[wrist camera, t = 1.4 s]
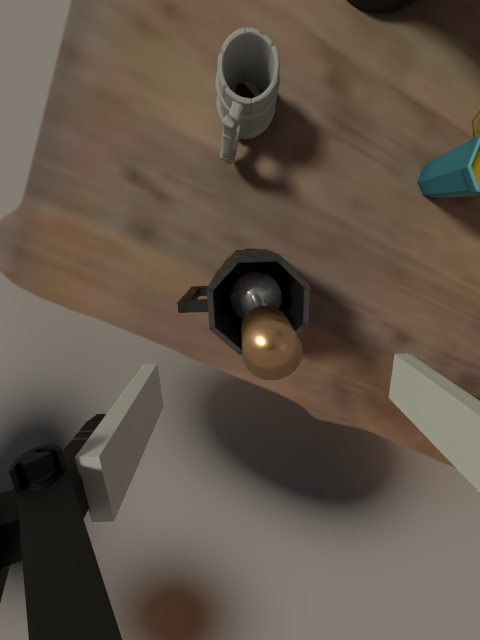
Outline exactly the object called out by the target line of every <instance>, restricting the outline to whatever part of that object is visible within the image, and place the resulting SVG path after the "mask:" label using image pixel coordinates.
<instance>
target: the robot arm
mask: <svg viewBox="0 0 480 640" xmlns="http://www.w3.org/2000/svg"><path fill="white" fill-rule="evenodd" d="M349 1H350V2H351V3H352V4H354V5H355V6H357V7H358V8H360V9H363V10H365V11H368V12H373V13H387V12H392V11H396V10H398V9H401V8H403V7H405V6H407V5H409V4H410V3H412V2H413V1H415V0H349ZM389 399H390V400H391V401H392V402H393V403H394V404H395V405H396V406H397V407H398V408H399V409H400V410H401V411H402V412H403V413H404V414H405V415H406V416H407V417H408V418H409V419H410V420H411V421H412V422H413V424H414V425H415V426H416V427H417V428H418V429H419V430H420V431H421V432H422V433H423V434H424V435H425V436H426V437H427V438H428V439H429V440H430V441H431V442H432V443H433V444H434V445H435V446H436V447H437V449H438V450H439V451H440V452H441V453H442V454H443V455H444V456H445V457H446V458H447V459H448V460H449V461H450V462H451V463H452V464H453V465H454V466H455V467H456V468H457V469H458V470H459V471H460V472H461V473H462V475H463V476H464V477H465V478H466V479H467V480H468V481H469V482H470V483H471V484H472V485H473V486H474V487H475V488H476V489H477V490H478V491H479V492H480V399H477V398H475V397H473V396H472V395H470V394H469V393H467V392H466V391H464V390H463V389H461V388H460V387H458V386H457V385H455V384H454V383H452V382H451V381H449V380H448V379H446V378H445V377H443V376H442V375H440V374H439V373H437V372H436V371H434V370H433V369H431V368H430V367H428V366H427V365H425V364H424V363H422V362H421V361H419V360H418V359H416V358H415V357H413V356H412V355H410V354H395V356H394V363H393V370H392V377H391V384H390V391H389ZM162 408H163V401H162V394H161V386H160V379H159V372H158V365H157V363H155V364H143V365H142V367H141V368H140V369H139V371H138V372H137V374H136V375H135V376H134V377H133V379H132V381H131V382H130V383H129V384H128V386H127V387H126V388H125V390H124V391H123V392H122V394H121V395H120V397H119V398H118V399H117V401H116V402H115V404H114V405H113V406H112V407H111V409H110V410H109V411H108V413H107V414H97V415H96V416H94V417H93V418H92V419H90V420H89V421H87V422H86V423H85V424H84V426H83V427H82V428H81V430H80V431H79V433H77V434H76V436H75V437H74V438H73V440H72V441H71V442H70V443H69V444H68V445H67V447H66V448H65V449H64V450H63V452H62V449H61V447H60V446H58V445H55V444H48V445H42V446H39V447H36V448H33V449H31V450H29V451H28V452H25V453H24V454H23V455H21V456H20V457H18V458H17V459H16V460H15V461H14V463H13V464H12V465H11V467H10V470H9V473H10V476H11V479H12V481H13V485H14V487H15V489H14V490H10V491H7V492H3V493H0V602H1V598H2V594H3V590H4V586H5V582H6V579H7V575H8V571H9V567H10V565H11V564H14V563H17V562H20V561H22V562H23V574H24V585H25V597H26V610H27V621H28V633H29V640H122V638H121V635H120V631H119V629H118V625H117V622H116V619H115V616H114V613H113V610H112V607H111V604H110V600H109V598H108V595H107V592H106V588H105V585H104V582H103V579H102V576H101V572H100V569H99V566H98V563H97V560H96V557H95V554H94V551H93V548H92V545H91V541H90V538H89V535H88V532H87V529H86V526H85V523H84V520H83V519H84V517H85V515H86V513H87V511H88V510H89V513H90V517H91V520H92V522H101V521H114V519H115V517H116V515H117V513H118V510H119V508H120V506H121V503H122V501H123V499H124V497H125V494H126V491H127V489H128V487H129V485H130V483H131V480H132V478H133V476H134V473H135V471H136V469H137V466H138V464H139V462H140V459H141V457H142V455H143V452H144V450H145V447H146V445H147V443H148V441H149V438H150V436H151V434H152V432H153V429H154V427H155V424H156V422H157V420H158V418H159V415H160V413H161V411H162Z"/></svg>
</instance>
